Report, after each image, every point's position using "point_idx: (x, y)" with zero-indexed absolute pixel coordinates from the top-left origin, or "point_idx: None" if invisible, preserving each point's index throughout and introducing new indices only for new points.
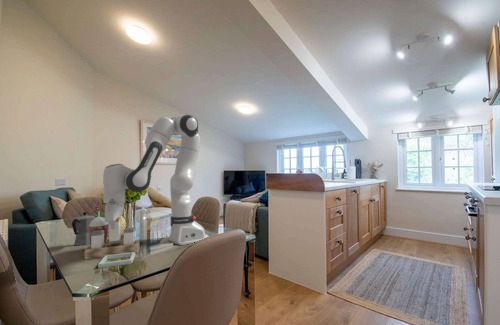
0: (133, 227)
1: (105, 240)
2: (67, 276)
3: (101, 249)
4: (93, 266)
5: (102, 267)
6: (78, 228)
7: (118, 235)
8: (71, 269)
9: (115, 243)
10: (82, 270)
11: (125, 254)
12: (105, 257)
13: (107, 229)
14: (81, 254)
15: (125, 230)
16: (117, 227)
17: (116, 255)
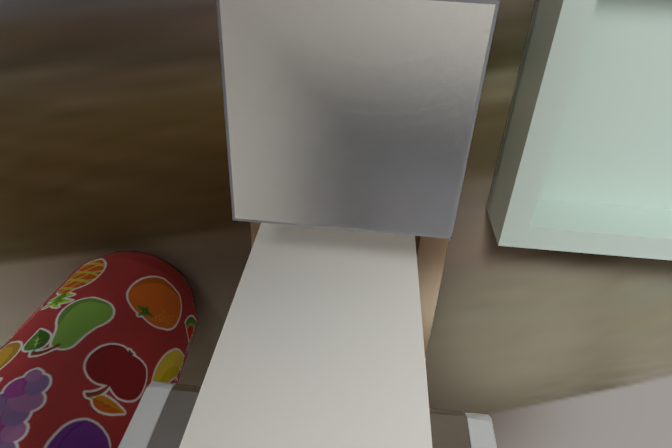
0: (229, 22)
1: (113, 321)
2: (640, 378)
3: (432, 313)
4: (536, 274)
5: None
6: None
7: (415, 257)
8: (505, 380)
9: None
10: (580, 324)
11: (583, 38)
12: (575, 236)
13: (9, 416)
14: (184, 378)
15: (454, 197)
16: (421, 393)
17: (551, 140)
